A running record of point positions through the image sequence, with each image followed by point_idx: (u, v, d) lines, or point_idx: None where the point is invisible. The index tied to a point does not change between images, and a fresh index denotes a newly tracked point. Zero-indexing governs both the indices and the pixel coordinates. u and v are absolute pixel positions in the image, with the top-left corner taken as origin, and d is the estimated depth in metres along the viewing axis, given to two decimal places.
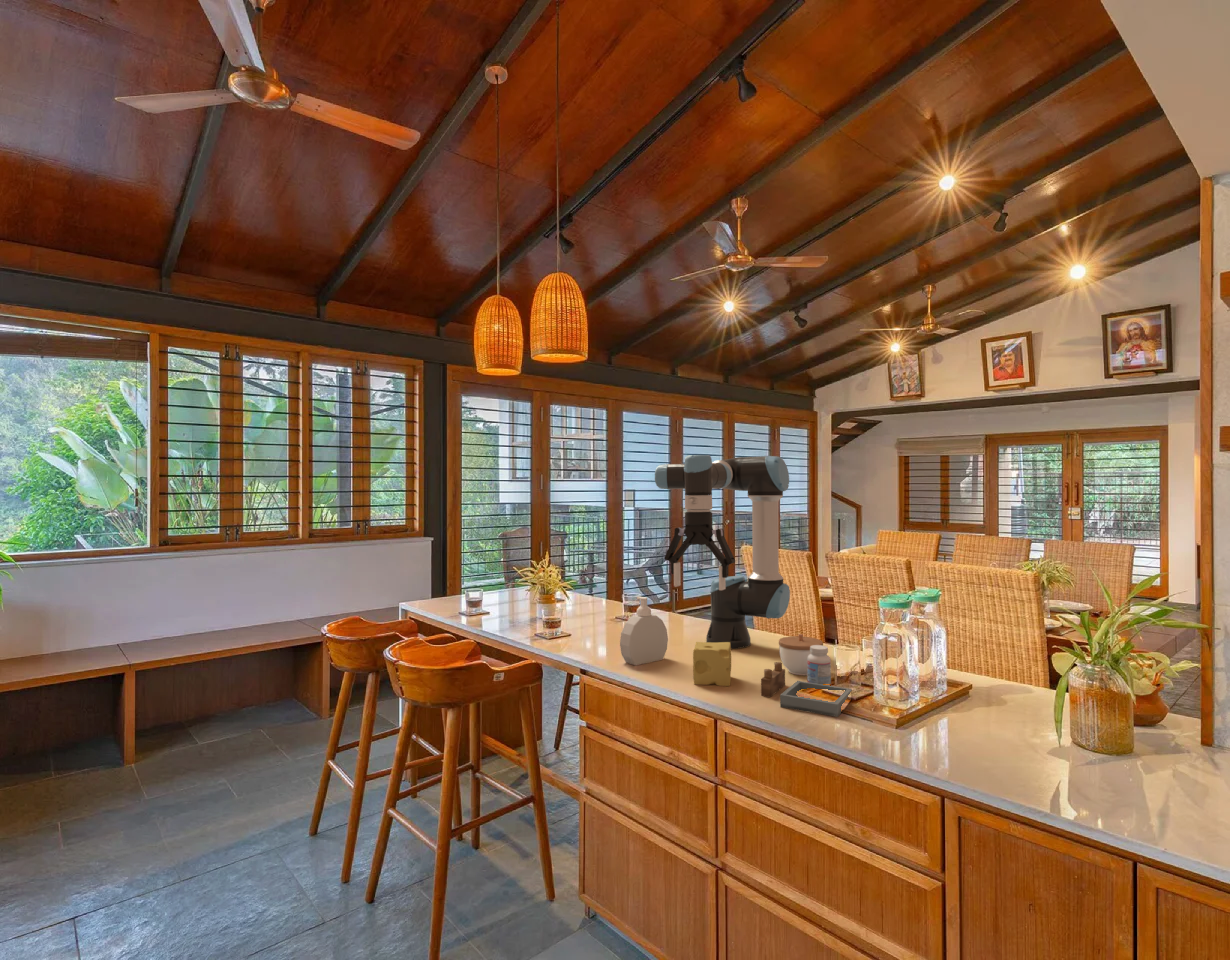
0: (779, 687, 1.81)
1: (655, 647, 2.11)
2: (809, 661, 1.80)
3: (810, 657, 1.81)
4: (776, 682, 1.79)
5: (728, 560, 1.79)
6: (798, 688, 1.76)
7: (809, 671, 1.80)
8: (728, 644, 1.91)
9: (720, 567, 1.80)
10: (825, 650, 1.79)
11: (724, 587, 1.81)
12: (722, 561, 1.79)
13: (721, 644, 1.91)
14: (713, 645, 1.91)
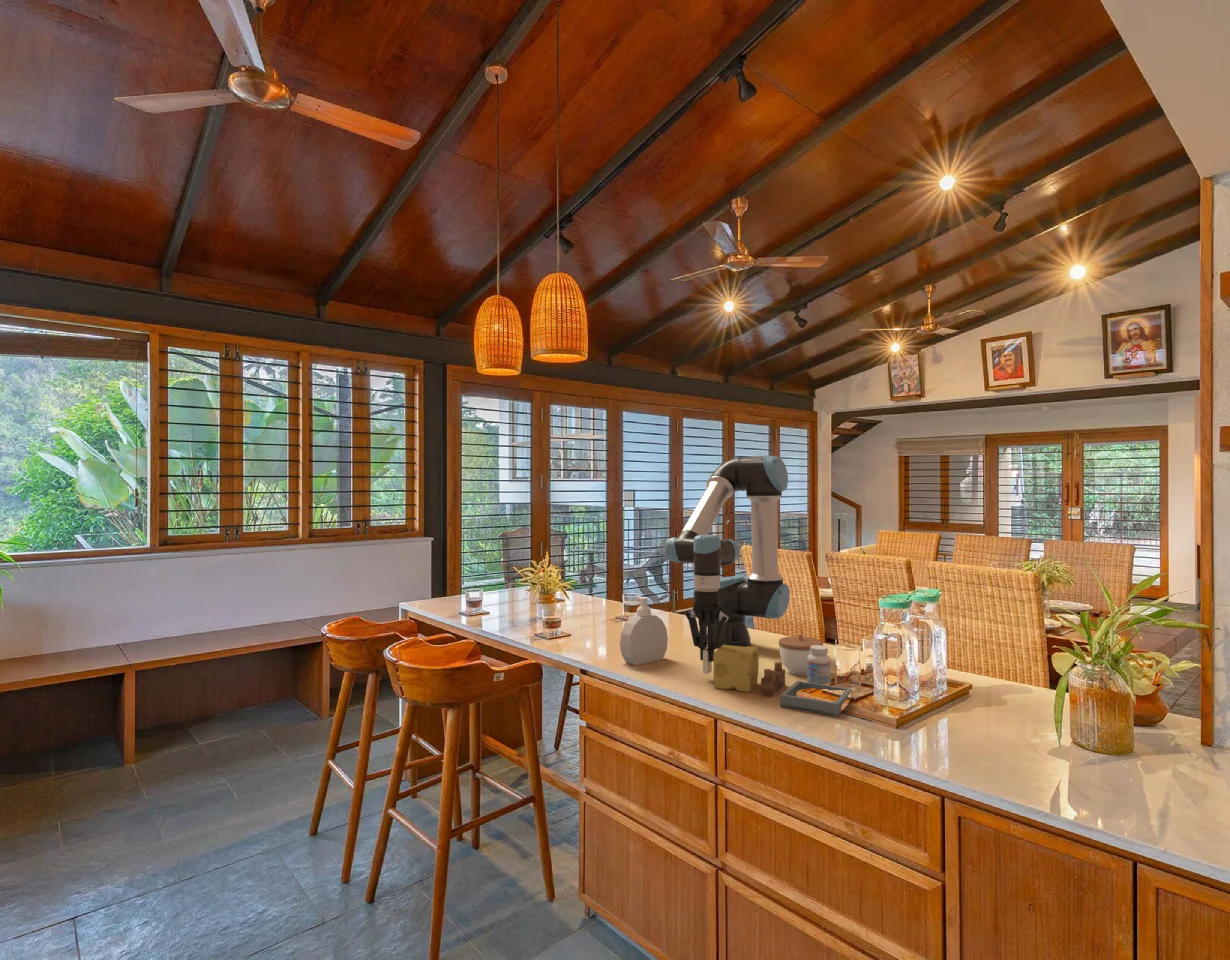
0: (779, 687, 1.81)
1: (655, 647, 2.11)
2: (809, 661, 1.80)
3: (810, 657, 1.81)
4: (776, 682, 1.79)
5: (715, 645, 1.88)
6: (798, 688, 1.76)
7: (809, 671, 1.80)
8: (753, 649, 1.85)
9: (706, 652, 1.89)
10: (825, 650, 1.79)
11: (710, 670, 1.90)
12: (710, 646, 1.88)
13: (746, 648, 1.85)
14: (737, 649, 1.85)
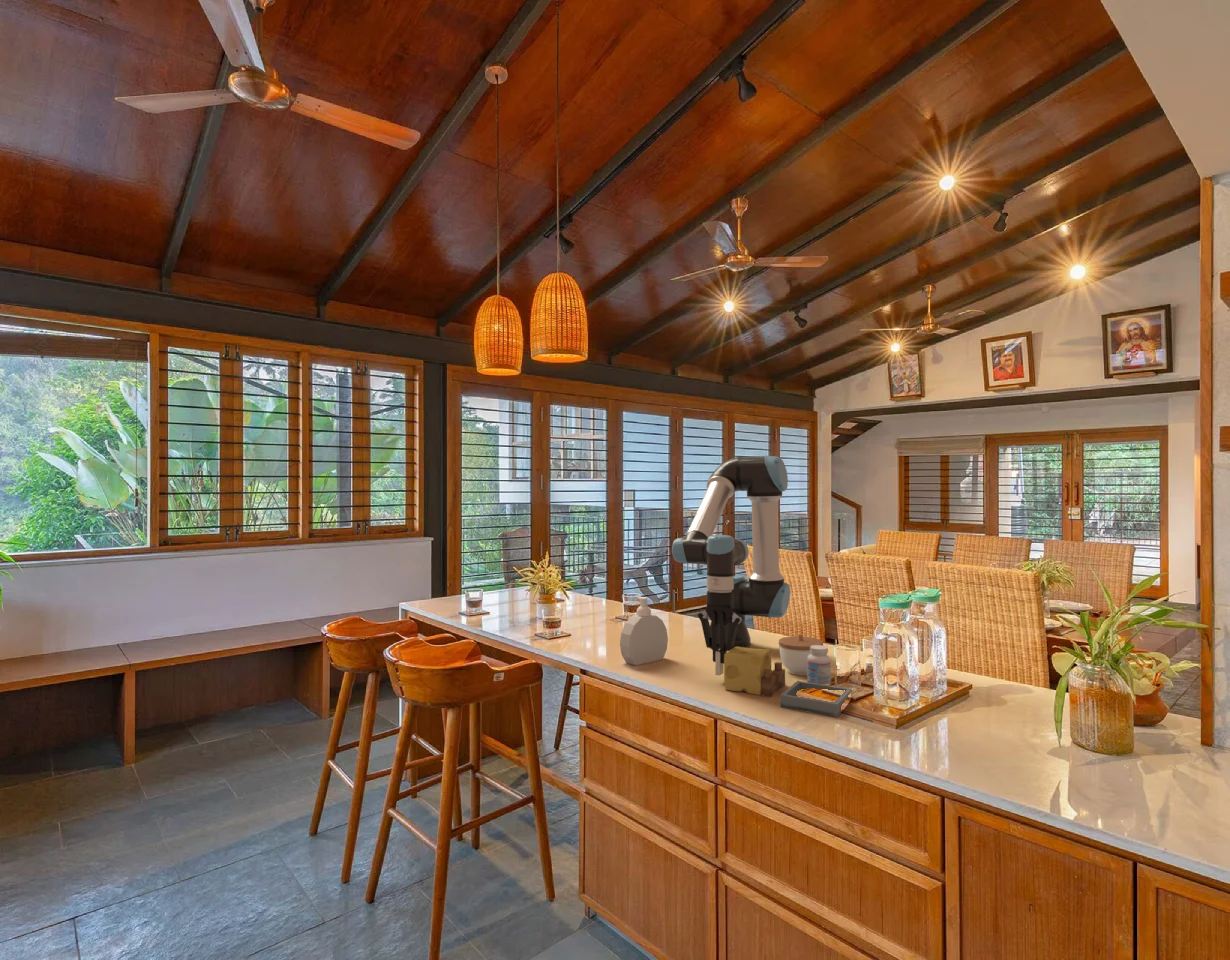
0: (779, 687, 1.81)
1: (655, 647, 2.11)
2: (809, 661, 1.80)
3: (810, 657, 1.81)
4: (776, 682, 1.79)
5: (727, 647, 1.86)
6: (798, 688, 1.76)
7: (809, 671, 1.80)
8: (765, 651, 1.82)
9: (718, 653, 1.87)
10: (825, 650, 1.79)
11: (722, 672, 1.89)
12: (722, 648, 1.87)
13: (758, 650, 1.83)
14: (749, 651, 1.83)
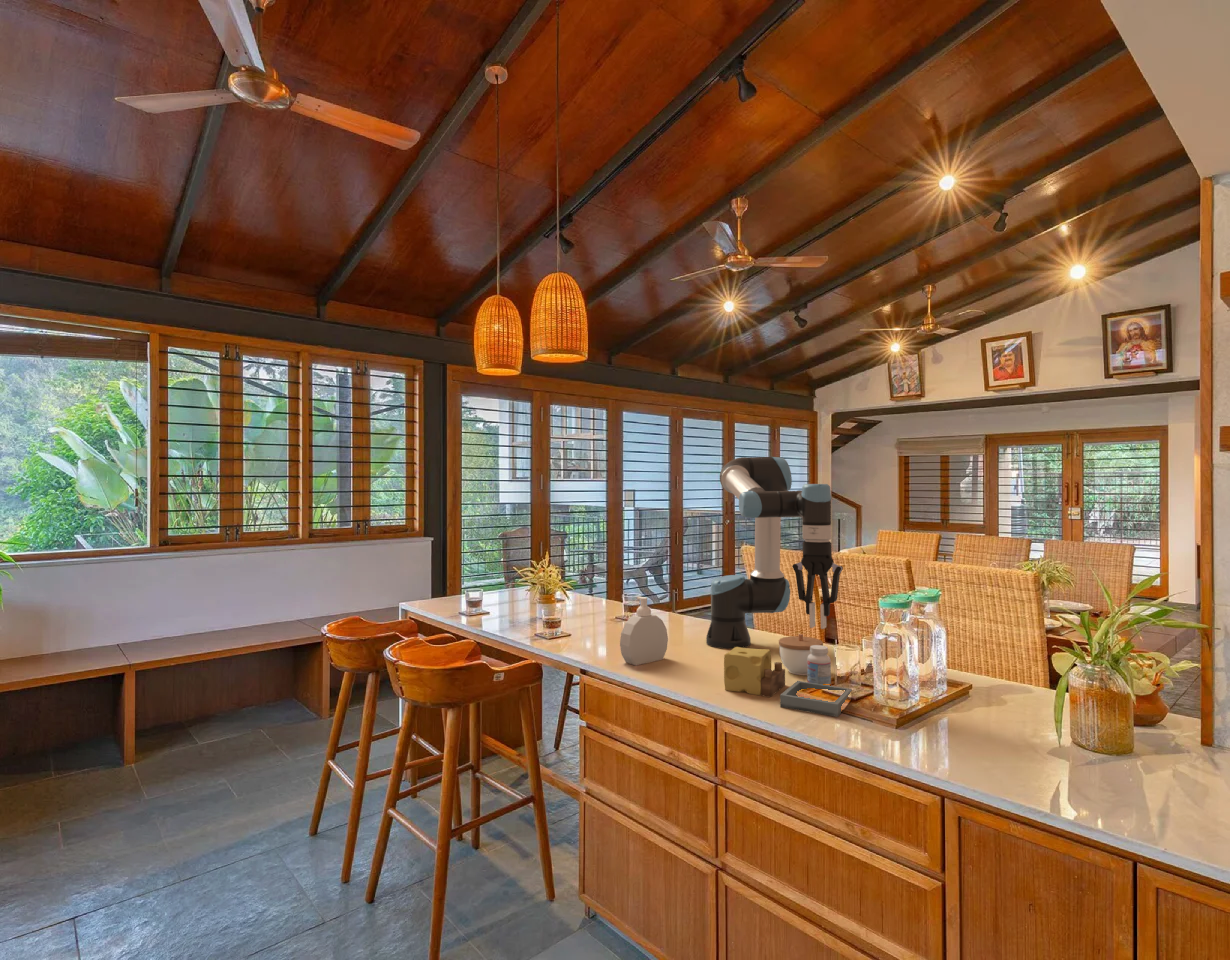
0: (779, 687, 1.81)
1: (655, 647, 2.11)
2: (809, 661, 1.80)
3: (810, 657, 1.81)
4: (776, 682, 1.79)
5: (831, 598, 1.78)
6: (798, 688, 1.76)
7: (809, 671, 1.80)
8: (765, 651, 1.82)
9: (822, 606, 1.79)
10: (825, 650, 1.79)
11: (825, 625, 1.81)
12: (825, 599, 1.79)
13: (758, 651, 1.83)
14: (749, 651, 1.83)
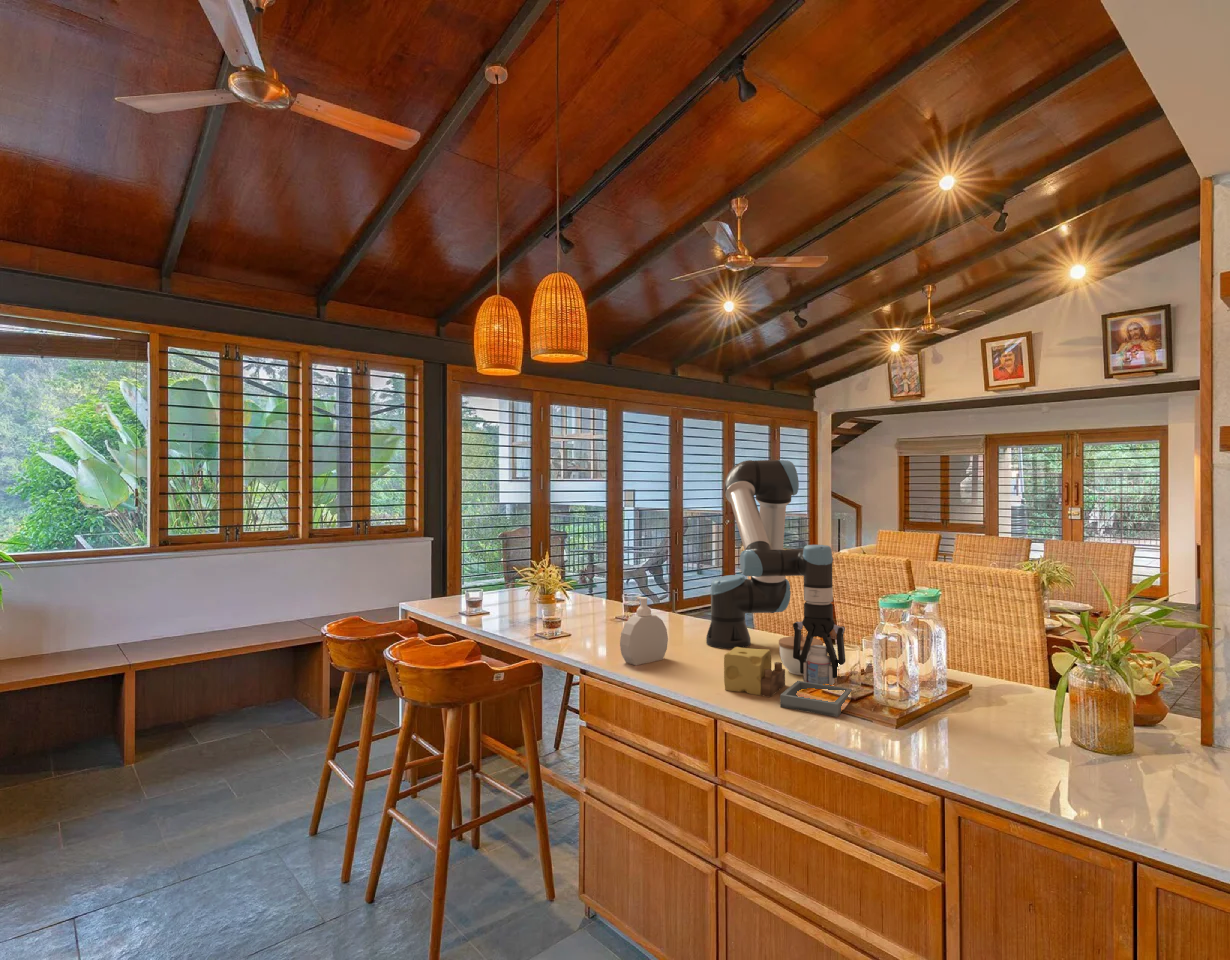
0: (779, 687, 1.81)
1: (655, 647, 2.11)
2: (809, 661, 1.80)
3: (810, 657, 1.81)
4: (776, 682, 1.79)
5: (840, 661, 1.77)
6: (798, 688, 1.76)
7: (809, 671, 1.80)
8: (765, 651, 1.82)
9: (830, 667, 1.78)
10: (825, 650, 1.79)
11: None
12: (833, 661, 1.78)
13: (758, 651, 1.83)
14: (749, 651, 1.83)
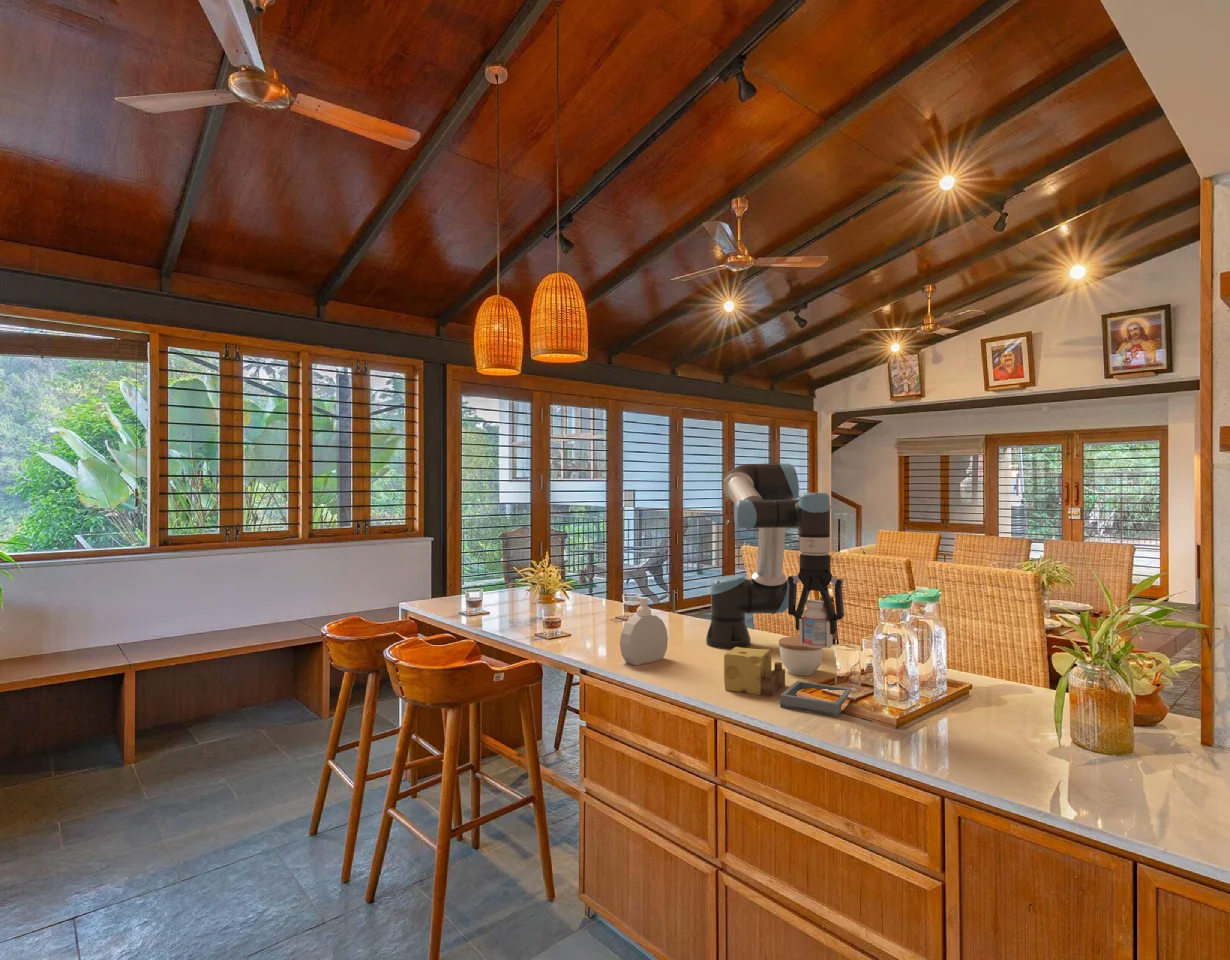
0: (779, 687, 1.81)
1: (655, 647, 2.11)
2: (805, 616, 1.68)
3: (806, 612, 1.68)
4: (776, 682, 1.79)
5: (838, 615, 1.65)
6: (798, 688, 1.76)
7: (805, 627, 1.68)
8: (765, 651, 1.82)
9: (828, 623, 1.66)
10: (822, 604, 1.67)
11: (831, 644, 1.67)
12: (831, 616, 1.65)
13: (758, 651, 1.83)
14: (749, 651, 1.83)
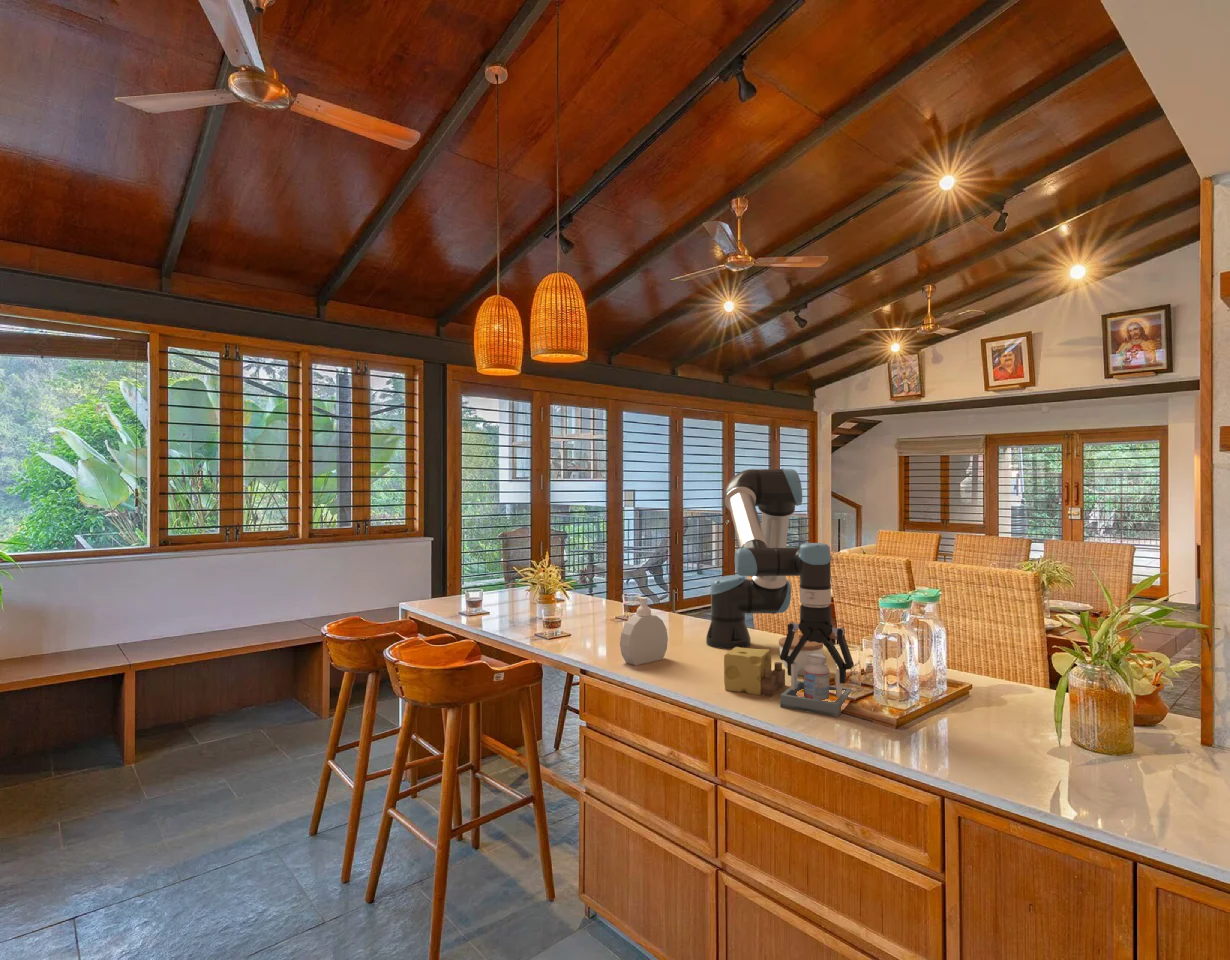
0: (779, 687, 1.81)
1: (655, 647, 2.11)
2: (806, 671, 1.68)
3: (807, 667, 1.68)
4: (776, 682, 1.79)
5: (847, 665, 1.63)
6: (798, 688, 1.76)
7: (806, 681, 1.68)
8: (765, 651, 1.82)
9: (838, 672, 1.65)
10: (823, 659, 1.67)
11: (841, 693, 1.66)
12: (840, 665, 1.64)
13: (758, 651, 1.83)
14: (749, 651, 1.83)
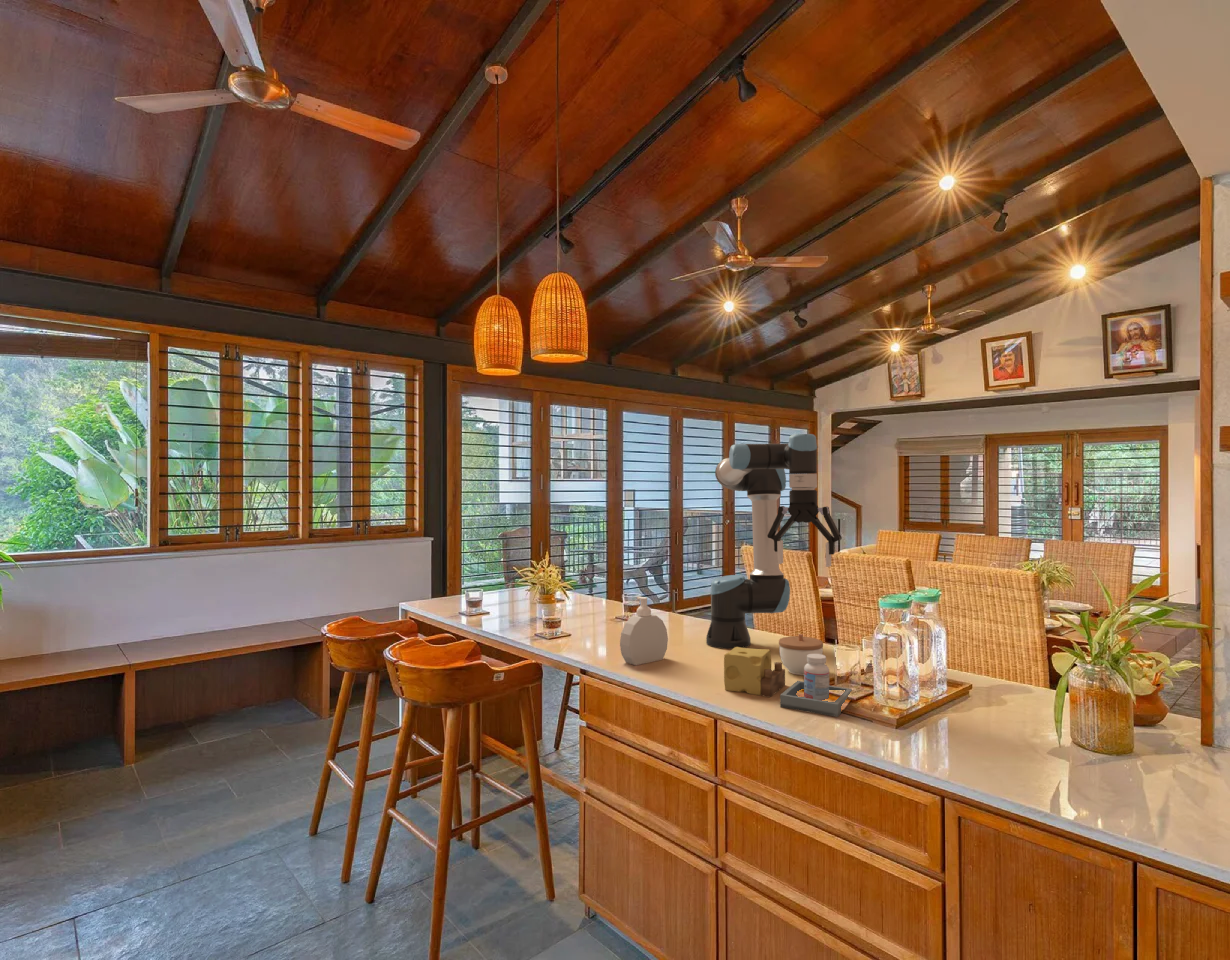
0: (779, 687, 1.81)
1: (655, 647, 2.11)
2: (806, 671, 1.68)
3: (807, 667, 1.68)
4: (776, 682, 1.79)
5: (835, 537, 1.82)
6: (798, 688, 1.76)
7: (806, 681, 1.68)
8: (765, 651, 1.82)
9: (827, 544, 1.83)
10: (823, 659, 1.67)
11: (830, 564, 1.84)
12: (829, 538, 1.83)
13: (758, 651, 1.83)
14: (749, 651, 1.83)
